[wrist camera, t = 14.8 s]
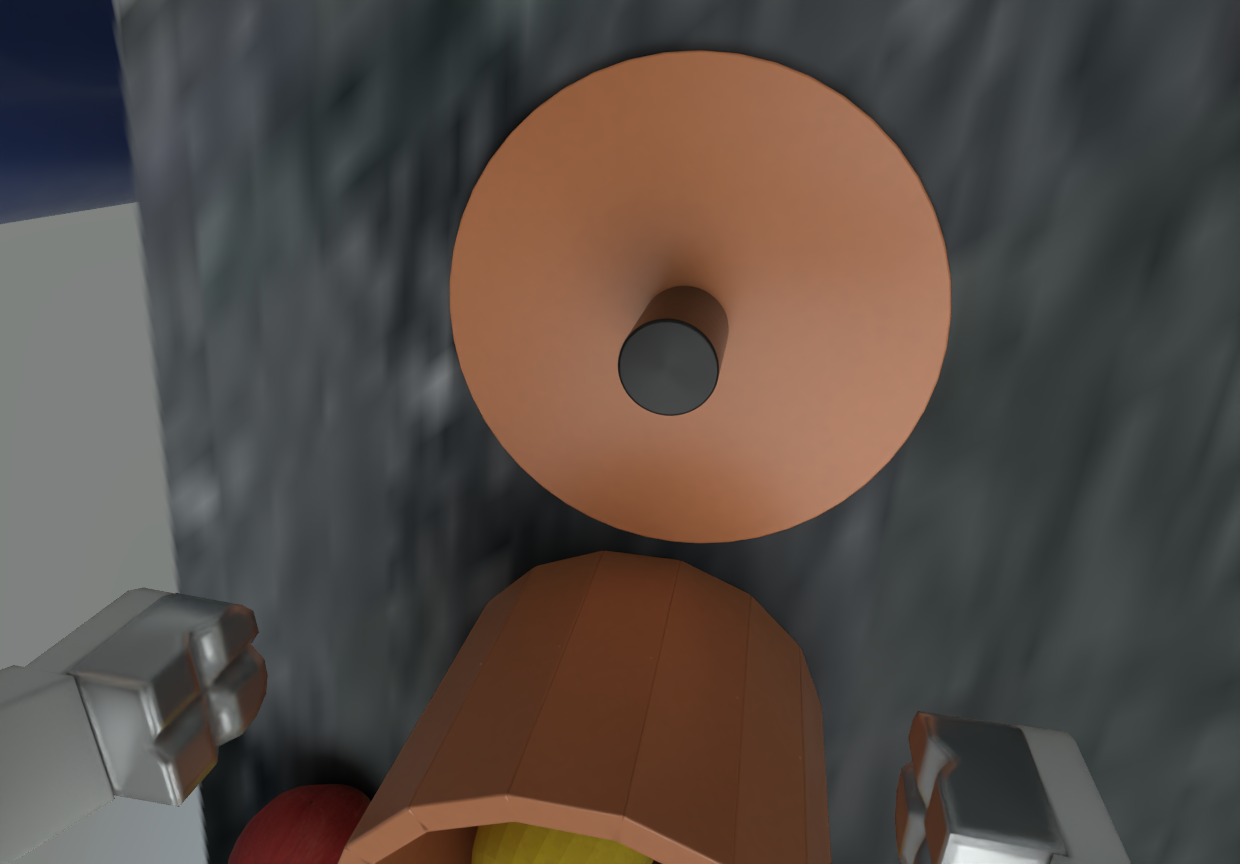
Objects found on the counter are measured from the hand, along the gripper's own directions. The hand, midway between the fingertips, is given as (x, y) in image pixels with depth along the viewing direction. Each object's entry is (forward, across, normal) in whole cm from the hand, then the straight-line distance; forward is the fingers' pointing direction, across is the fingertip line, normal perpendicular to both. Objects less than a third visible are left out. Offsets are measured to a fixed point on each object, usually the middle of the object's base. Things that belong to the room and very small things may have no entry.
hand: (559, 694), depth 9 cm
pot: (+15, +1, +13) cm, 20 cm away
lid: (+14, 0, -1) cm, 14 cm away
